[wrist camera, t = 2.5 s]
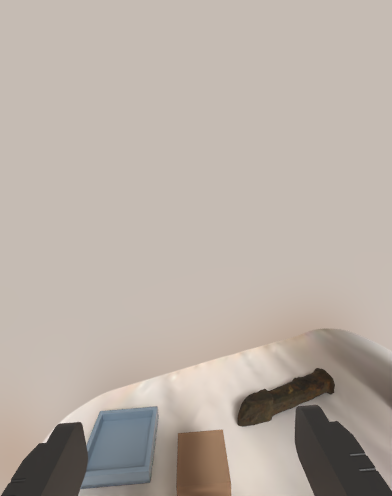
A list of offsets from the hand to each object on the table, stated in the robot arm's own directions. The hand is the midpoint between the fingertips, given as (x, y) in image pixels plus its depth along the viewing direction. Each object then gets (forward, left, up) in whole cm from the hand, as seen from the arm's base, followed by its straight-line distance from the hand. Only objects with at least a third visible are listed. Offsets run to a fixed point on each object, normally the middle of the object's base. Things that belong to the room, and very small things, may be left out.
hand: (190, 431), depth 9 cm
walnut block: (0, -12, -28) cm, 31 cm away
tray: (+12, -22, -28) cm, 38 cm away
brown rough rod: (-15, -26, -29) cm, 42 cm away
